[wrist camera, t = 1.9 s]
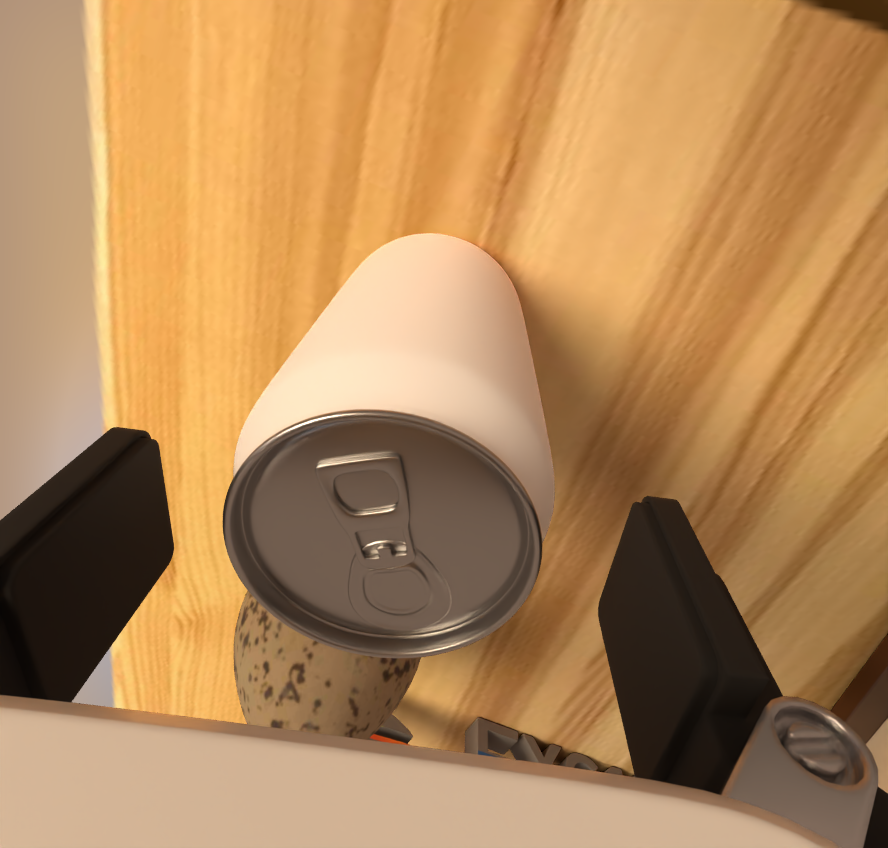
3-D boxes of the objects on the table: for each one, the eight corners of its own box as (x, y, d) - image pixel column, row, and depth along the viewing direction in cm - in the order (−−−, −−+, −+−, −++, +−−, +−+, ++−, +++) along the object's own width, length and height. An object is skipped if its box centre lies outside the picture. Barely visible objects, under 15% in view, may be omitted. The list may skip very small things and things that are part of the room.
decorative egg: (358, 623, 28) (304, 853, 20) (246, 538, 26) (129, 756, 17) (466, 555, 26) (459, 785, 17) (353, 454, 23) (278, 660, 15)
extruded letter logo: (299, 671, 30) (264, 780, 25) (308, 654, 30) (274, 763, 25) (679, 807, 35) (711, 923, 30) (695, 796, 34) (731, 912, 29)
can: (368, 413, 22) (269, 684, 12) (320, 248, 19) (131, 418, 9) (532, 389, 21) (581, 660, 11) (509, 212, 18) (548, 355, 8)
